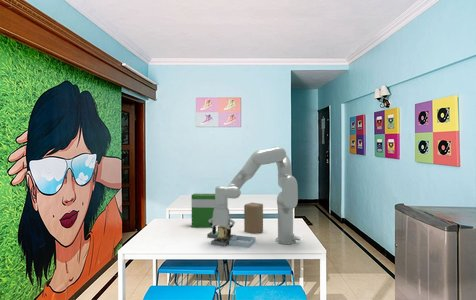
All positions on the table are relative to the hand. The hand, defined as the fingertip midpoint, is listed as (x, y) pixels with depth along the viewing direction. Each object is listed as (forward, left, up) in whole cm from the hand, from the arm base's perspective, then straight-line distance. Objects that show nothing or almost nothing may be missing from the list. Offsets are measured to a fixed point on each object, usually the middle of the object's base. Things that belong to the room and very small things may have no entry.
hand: (221, 234), depth 189 cm
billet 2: (0, -8, -5) cm, 10 cm away
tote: (-12, -4, -6) cm, 14 cm away
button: (+10, -11, -5) cm, 16 cm away
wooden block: (-10, -32, -6) cm, 34 cm away
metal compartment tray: (0, -4, -6) cm, 7 cm away
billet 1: (0, 0, -5) cm, 5 cm away
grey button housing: (+10, -11, -6) cm, 16 cm away
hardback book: (+30, -35, -6) cm, 47 cm away
